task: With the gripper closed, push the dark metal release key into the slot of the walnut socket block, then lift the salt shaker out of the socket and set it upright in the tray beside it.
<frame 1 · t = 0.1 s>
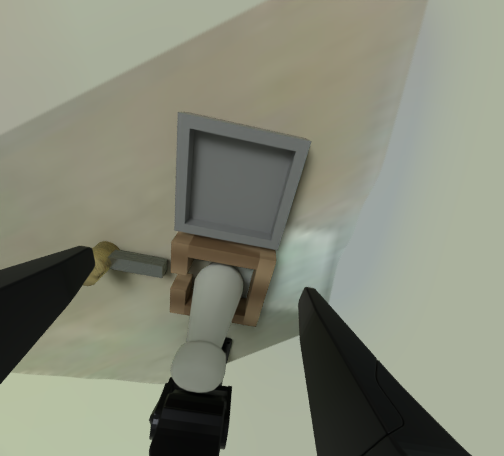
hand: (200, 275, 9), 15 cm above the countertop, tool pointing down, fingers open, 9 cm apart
release key: (122, 267, 25), point 2 cm above the countertop, slide at 0.0 cm
tray: (237, 183, 22), on the countertop
salt shaker: (222, 271, 28), resting in socket block
socket block: (222, 272, 28), on the countertop
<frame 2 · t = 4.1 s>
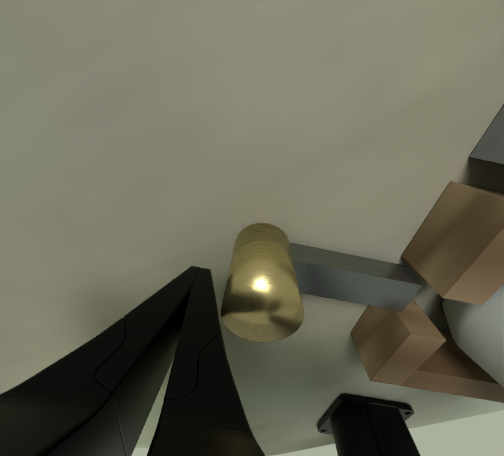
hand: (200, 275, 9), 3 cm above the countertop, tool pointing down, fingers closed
release key: (325, 286, 10), point 2 cm above the countertop, slide at 1.4 cm, touching gripper
salt shaker: (477, 287, 13), resting in socket block
socket block: (480, 290, 12), on the countertop
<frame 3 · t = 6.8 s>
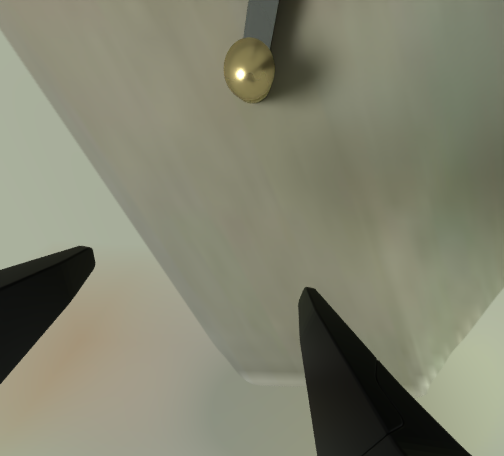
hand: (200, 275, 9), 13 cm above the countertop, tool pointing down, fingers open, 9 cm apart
release key: (260, 18, 13), point 2 cm above the countertop, slide at 3.0 cm
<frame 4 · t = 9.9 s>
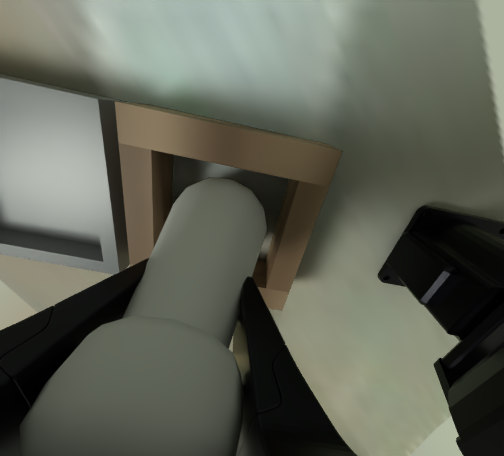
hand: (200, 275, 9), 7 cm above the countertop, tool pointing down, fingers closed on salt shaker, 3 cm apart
tray: (51, 175, 15), on the countertop
salt shaker: (225, 208, 15), resting in socket block, touching gripper
socket block: (225, 209, 15), on the countertop
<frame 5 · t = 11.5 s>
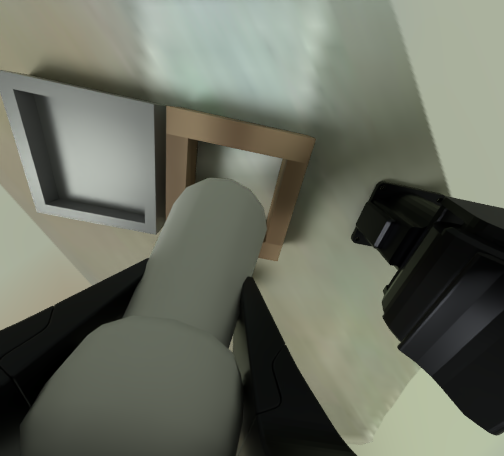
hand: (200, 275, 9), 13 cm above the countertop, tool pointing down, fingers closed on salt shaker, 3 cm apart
tray: (107, 159, 20), on the countertop
salt shaker: (225, 208, 15), point 6 cm above the countertop, touching gripper
socket block: (235, 185, 20), on the countertop
when the fingers open (9 cm above the countertop, at t = 13.6 s): salt shaker drops 1 cm, resting on tray.
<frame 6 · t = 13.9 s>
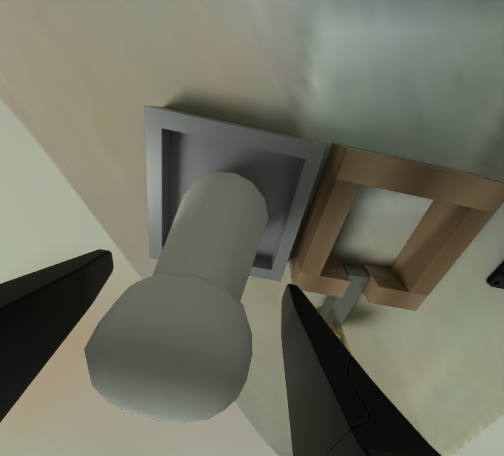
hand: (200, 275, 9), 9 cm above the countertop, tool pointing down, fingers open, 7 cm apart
release key: (339, 315, 20), point 2 cm above the countertop, slide at 3.0 cm
tray: (229, 197, 17), on the countertop
salt shaker: (229, 201, 17), point 1 cm above the countertop, touching tray
socket block: (369, 226, 18), on the countertop
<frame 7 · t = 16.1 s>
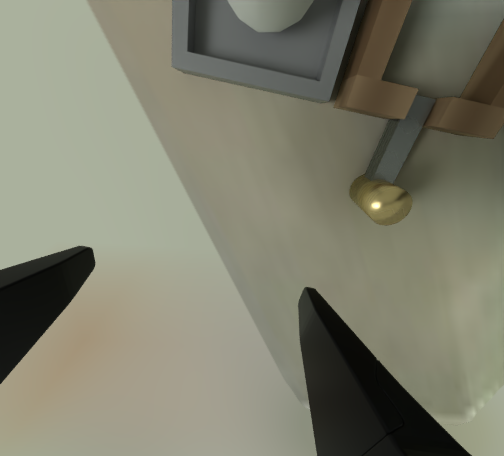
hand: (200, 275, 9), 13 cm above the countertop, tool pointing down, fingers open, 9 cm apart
release key: (394, 162, 17), point 2 cm above the countertop, slide at 3.0 cm
socket block: (437, 33, 15), on the countertop
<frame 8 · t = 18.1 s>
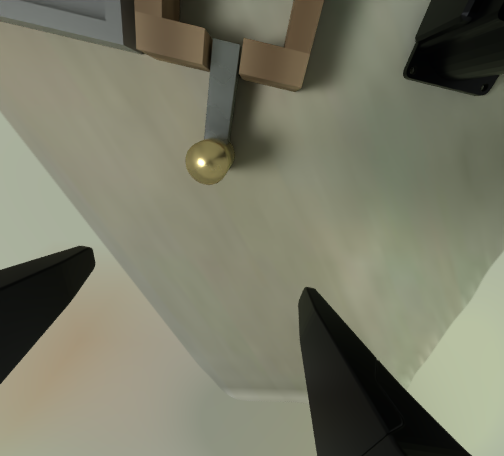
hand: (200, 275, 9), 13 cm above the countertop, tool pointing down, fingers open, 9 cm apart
release key: (217, 117, 16), point 2 cm above the countertop, slide at 3.0 cm
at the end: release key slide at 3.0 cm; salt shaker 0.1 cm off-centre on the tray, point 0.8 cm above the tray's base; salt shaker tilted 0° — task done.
